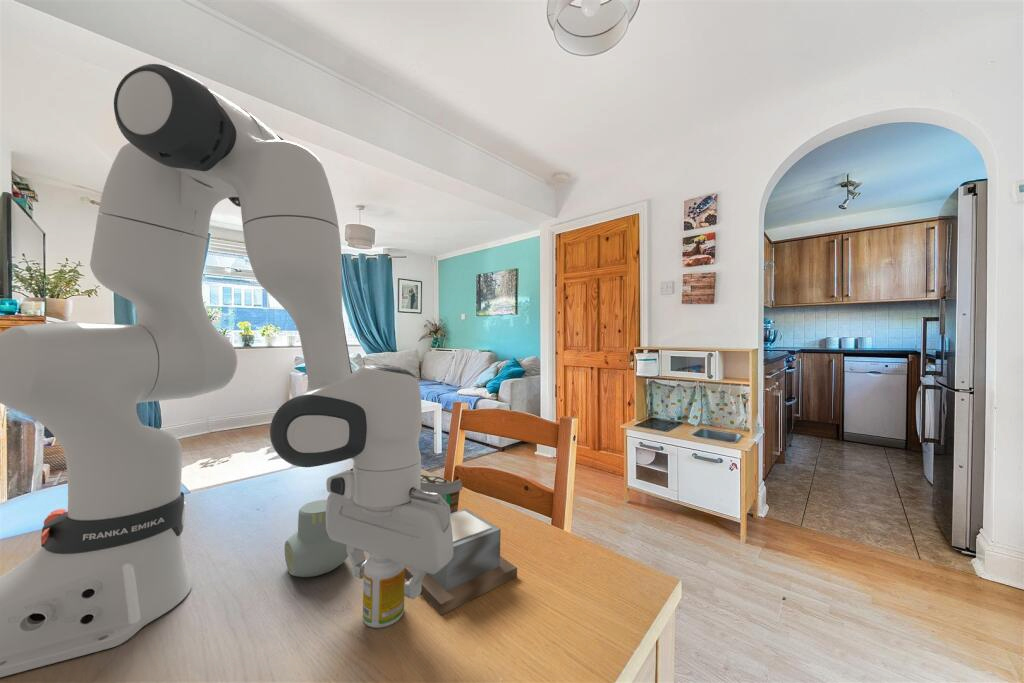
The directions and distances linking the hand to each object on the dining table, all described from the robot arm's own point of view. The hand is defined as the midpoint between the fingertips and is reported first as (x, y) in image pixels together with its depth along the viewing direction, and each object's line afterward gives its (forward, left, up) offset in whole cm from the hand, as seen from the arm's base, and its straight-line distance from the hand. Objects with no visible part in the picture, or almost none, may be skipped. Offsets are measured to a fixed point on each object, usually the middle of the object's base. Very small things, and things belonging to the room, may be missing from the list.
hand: (385, 585), depth 52 cm
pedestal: (+13, +3, -4) cm, 14 cm away
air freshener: (-4, +19, -5) cm, 19 cm away
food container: (+17, +20, -5) cm, 26 cm away
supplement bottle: (0, +1, -5) cm, 5 cm away
